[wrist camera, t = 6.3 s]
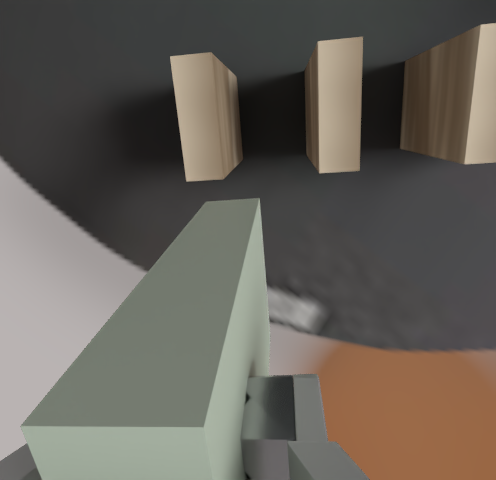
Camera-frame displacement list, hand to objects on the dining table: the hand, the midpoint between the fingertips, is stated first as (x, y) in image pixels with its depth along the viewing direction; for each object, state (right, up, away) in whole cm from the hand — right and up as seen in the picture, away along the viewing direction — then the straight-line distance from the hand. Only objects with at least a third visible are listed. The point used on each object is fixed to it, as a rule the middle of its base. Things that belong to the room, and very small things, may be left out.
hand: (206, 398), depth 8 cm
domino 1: (-1, +13, +19) cm, 23 cm away
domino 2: (+6, +13, +19) cm, 24 cm away
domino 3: (+13, +13, +18) cm, 26 cm away
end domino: (+1, +2, +6) cm, 7 cm away
